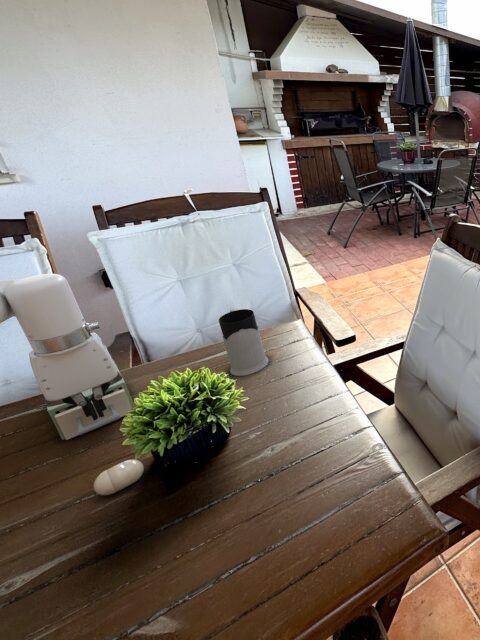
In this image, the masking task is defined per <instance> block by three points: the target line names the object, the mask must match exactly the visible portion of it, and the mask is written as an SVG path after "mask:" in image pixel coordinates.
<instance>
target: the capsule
mask: <svg viewBox="0 0 480 640" xmlns="http://www.w3.org/2000/svg"><path fill="white" fill-rule="evenodd" d="M144 471H145V465H144V464H143V462H141V460H139V459H133V458H132V459H126V460H124V461H121V462H119V463H117V464H115V465H113V466H111V467H109V468H107V469H105V470H103V471H102V472H100V473H98V475H97V476H96V477H95V479H94V481H93V484H92V485H93V486H92V487H93V491H94V492H95V493H96V494H97V495H100V496H110V495H113V494H116V493H117V492H120V491H122V490H123V489H126V488H127V487H129V486H131V485H133V484H134V483H136V482H137V481H139V480H140V479H141V477H142V476H143V474H144Z"/></svg>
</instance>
